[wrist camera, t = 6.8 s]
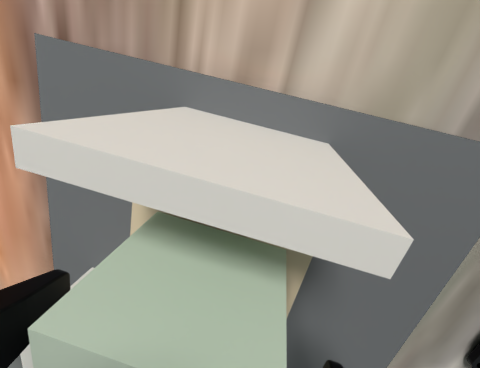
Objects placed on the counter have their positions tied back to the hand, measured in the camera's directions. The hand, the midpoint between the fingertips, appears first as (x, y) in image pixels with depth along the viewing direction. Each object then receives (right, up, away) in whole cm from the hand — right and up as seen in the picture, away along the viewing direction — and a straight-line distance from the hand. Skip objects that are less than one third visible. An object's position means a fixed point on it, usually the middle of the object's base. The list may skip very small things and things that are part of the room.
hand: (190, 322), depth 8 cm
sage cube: (0, +1, +2) cm, 2 cm away
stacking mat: (+1, 0, +7) cm, 7 cm away
